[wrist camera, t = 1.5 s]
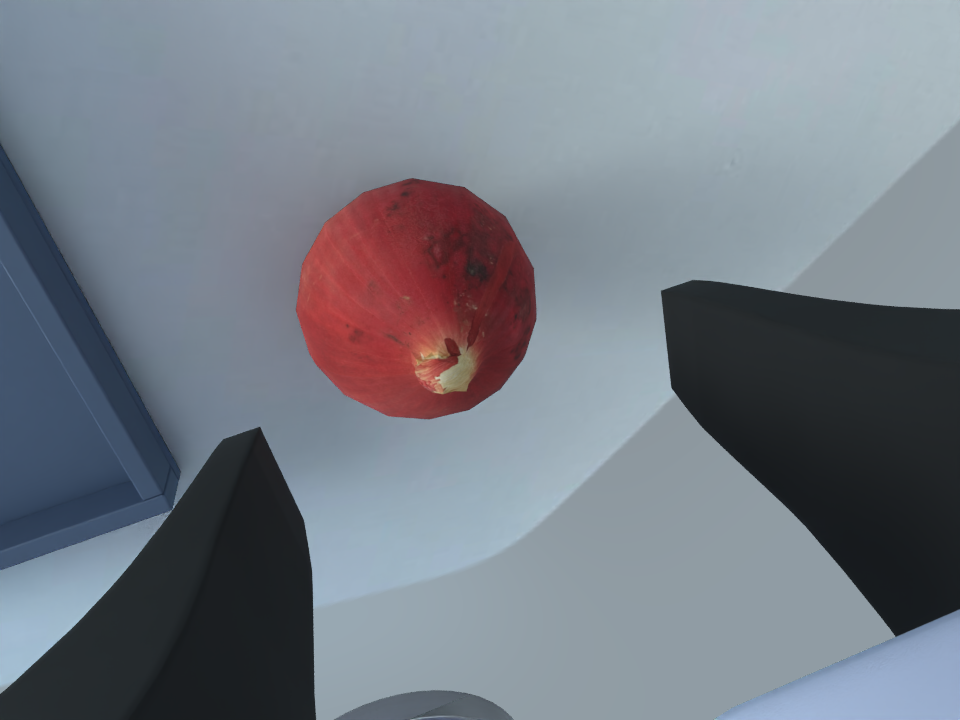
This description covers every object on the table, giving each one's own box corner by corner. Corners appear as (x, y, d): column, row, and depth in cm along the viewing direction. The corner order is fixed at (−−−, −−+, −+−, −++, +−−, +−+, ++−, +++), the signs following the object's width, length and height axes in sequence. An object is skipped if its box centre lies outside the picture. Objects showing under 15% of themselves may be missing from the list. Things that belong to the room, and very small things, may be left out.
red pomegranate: (363, 116, 18) (418, 159, 11) (526, 228, 21) (651, 319, 14) (257, 294, 20) (247, 431, 13) (422, 379, 22) (491, 533, 15)
